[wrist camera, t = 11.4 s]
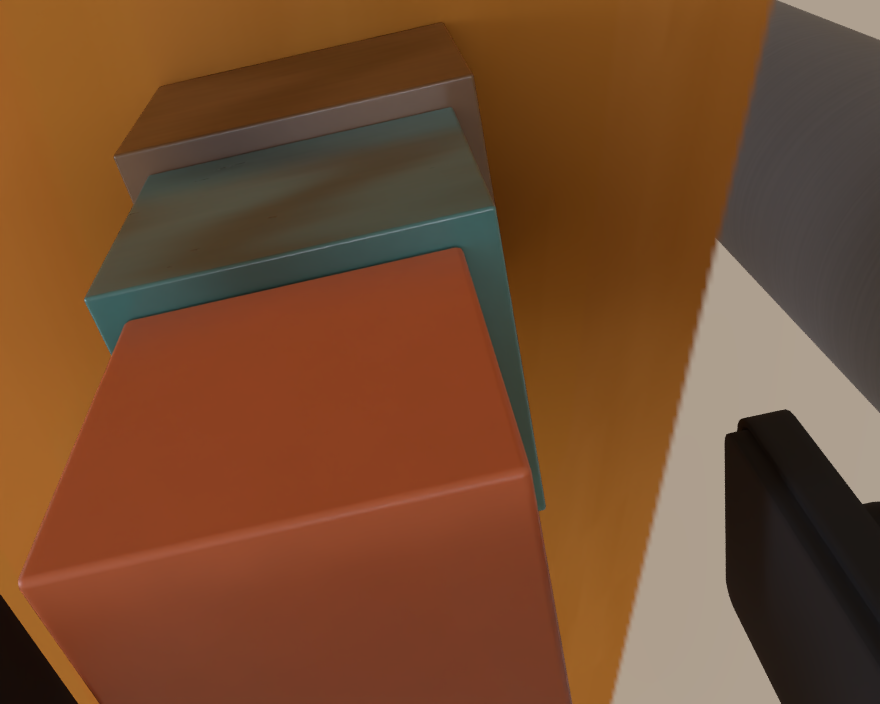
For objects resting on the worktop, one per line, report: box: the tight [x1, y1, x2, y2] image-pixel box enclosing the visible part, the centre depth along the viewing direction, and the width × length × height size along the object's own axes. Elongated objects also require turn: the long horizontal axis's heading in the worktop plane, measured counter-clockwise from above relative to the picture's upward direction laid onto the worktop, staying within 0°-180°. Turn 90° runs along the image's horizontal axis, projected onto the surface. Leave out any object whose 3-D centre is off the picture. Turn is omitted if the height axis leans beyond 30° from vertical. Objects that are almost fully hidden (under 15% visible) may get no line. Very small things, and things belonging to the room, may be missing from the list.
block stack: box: [84, 22, 546, 511], centre depth 18 cm, size 7×7×10 cm
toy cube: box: [18, 247, 572, 704], centre depth 11 cm, size 5×5×5 cm
